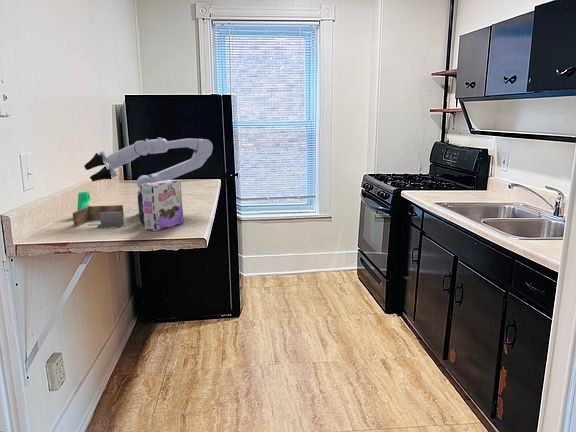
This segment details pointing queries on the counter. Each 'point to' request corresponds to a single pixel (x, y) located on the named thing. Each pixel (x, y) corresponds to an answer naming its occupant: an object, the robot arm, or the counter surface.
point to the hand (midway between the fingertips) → (88, 173)
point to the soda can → (140, 208)
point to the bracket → (111, 219)
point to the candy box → (162, 204)
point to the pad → (95, 222)
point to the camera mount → (83, 200)
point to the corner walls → (93, 213)
